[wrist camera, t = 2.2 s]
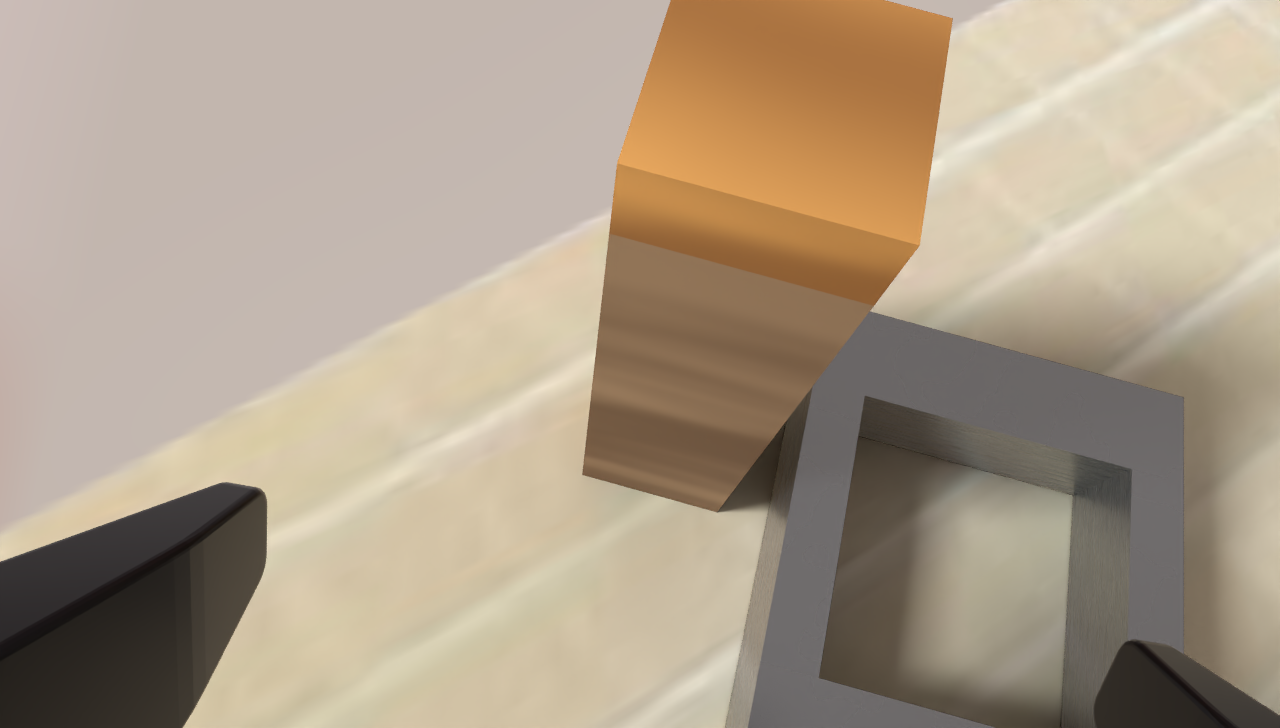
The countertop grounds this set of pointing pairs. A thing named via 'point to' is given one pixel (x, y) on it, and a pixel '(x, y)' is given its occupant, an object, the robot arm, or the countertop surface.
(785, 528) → the grey rectangular frame
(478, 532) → the countertop surface
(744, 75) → the walnut pin
